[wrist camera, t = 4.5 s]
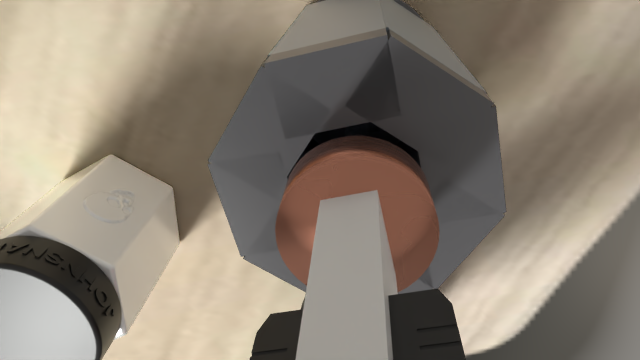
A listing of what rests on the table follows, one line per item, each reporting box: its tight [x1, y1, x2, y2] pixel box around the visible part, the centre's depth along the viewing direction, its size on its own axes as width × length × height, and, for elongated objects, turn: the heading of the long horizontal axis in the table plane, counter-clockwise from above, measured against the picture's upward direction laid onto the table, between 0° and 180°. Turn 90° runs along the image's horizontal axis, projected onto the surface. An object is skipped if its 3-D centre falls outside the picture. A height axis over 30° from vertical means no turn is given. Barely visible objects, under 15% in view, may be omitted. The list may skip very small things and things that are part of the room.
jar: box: [0, 155, 180, 360], centre depth 30 cm, size 9×8×12 cm
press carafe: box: [208, 0, 506, 294], centre depth 24 cm, size 9×12×15 cm
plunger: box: [275, 122, 440, 292], centre depth 20 cm, size 6×6×13 cm
